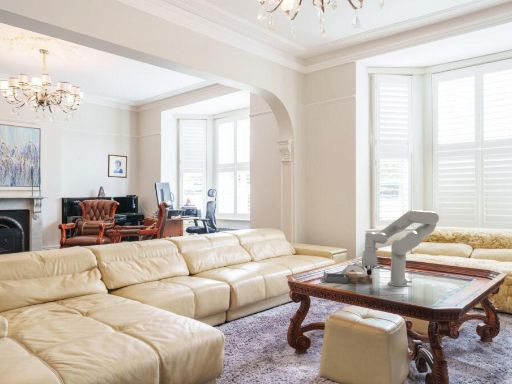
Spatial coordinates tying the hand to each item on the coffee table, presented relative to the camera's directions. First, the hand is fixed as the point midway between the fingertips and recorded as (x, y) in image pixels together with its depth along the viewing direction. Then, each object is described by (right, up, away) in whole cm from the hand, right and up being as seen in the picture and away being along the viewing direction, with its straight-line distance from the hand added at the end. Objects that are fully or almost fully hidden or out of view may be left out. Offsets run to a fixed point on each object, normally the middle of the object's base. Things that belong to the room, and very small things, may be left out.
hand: (369, 275), depth 272 cm
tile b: (-12, 0, 0) cm, 12 cm away
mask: (-2, -5, +28) cm, 29 cm away
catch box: (-24, -4, 0) cm, 24 cm away
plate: (-7, -5, 0) cm, 9 cm away
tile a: (-7, -1, 0) cm, 7 cm away
